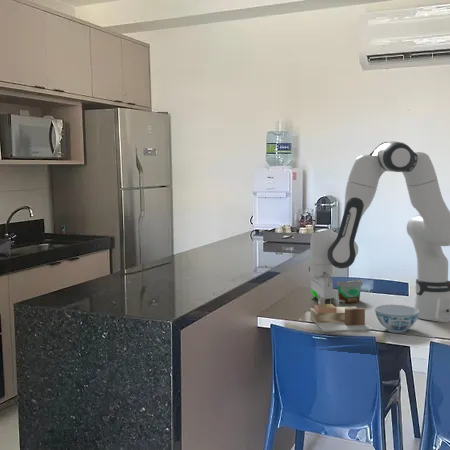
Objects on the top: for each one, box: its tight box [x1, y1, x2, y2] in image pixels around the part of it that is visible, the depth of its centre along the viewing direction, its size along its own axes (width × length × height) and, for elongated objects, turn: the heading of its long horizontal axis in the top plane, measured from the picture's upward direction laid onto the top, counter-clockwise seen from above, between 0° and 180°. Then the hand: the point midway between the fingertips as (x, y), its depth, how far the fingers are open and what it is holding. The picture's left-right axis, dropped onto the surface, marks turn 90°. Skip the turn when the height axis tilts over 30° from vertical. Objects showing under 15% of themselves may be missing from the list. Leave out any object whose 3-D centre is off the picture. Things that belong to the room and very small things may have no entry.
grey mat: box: [315, 322, 374, 333], centre depth 200 cm, size 18×10×1 cm, turn 96°
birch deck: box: [309, 305, 358, 324], centre depth 210 cm, size 18×9×4 cm, turn 96°
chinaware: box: [374, 304, 419, 334], centre depth 195 cm, size 15×15×8 cm
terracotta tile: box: [313, 303, 337, 313], centre depth 209 cm, size 7×6×2 cm
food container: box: [336, 278, 363, 305], centre depth 236 cm, size 12×6×10 cm, turn 114°
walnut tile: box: [345, 307, 366, 326], centre depth 202 cm, size 7×6×2 cm
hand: (321, 305), depth 214 cm, fingers closed
